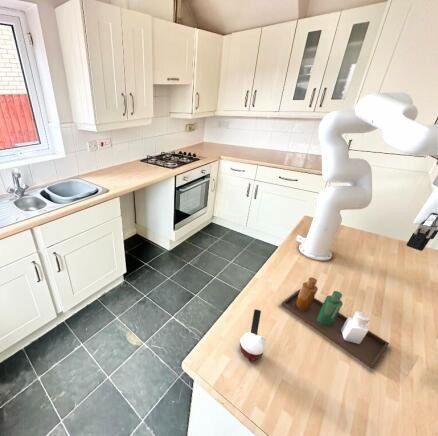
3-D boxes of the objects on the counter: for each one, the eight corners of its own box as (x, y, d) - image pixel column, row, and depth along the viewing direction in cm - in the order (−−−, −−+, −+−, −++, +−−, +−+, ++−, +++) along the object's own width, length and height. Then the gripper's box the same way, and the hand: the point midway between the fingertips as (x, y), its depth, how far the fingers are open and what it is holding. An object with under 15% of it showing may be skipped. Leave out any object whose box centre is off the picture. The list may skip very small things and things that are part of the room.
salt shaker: (343, 340, 71) (356, 319, 67) (339, 329, 74) (351, 308, 70) (360, 345, 70) (374, 323, 65) (355, 333, 73) (368, 312, 68)
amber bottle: (292, 304, 83) (302, 278, 77) (299, 299, 85) (309, 273, 79) (305, 313, 80) (316, 286, 74) (311, 307, 82) (323, 281, 76)
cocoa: (254, 372, 64) (263, 343, 59) (232, 356, 68) (239, 328, 63) (267, 347, 70) (277, 319, 65) (247, 334, 74) (254, 306, 68)
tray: (280, 306, 83) (282, 302, 82) (298, 293, 88) (300, 288, 87) (370, 369, 64) (373, 365, 63) (386, 347, 70) (389, 343, 69)
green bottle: (313, 319, 78) (326, 292, 72) (320, 313, 80) (333, 286, 74) (328, 328, 75) (342, 301, 69) (334, 322, 77) (349, 295, 71)
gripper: (444, 173, 65) (411, 227, 74) (424, 186, 57) (390, 245, 65) (488, 181, 60) (447, 238, 68) (473, 197, 52) (429, 260, 60)
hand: (419, 242), depth 67 cm, fingers open, 9 cm apart
